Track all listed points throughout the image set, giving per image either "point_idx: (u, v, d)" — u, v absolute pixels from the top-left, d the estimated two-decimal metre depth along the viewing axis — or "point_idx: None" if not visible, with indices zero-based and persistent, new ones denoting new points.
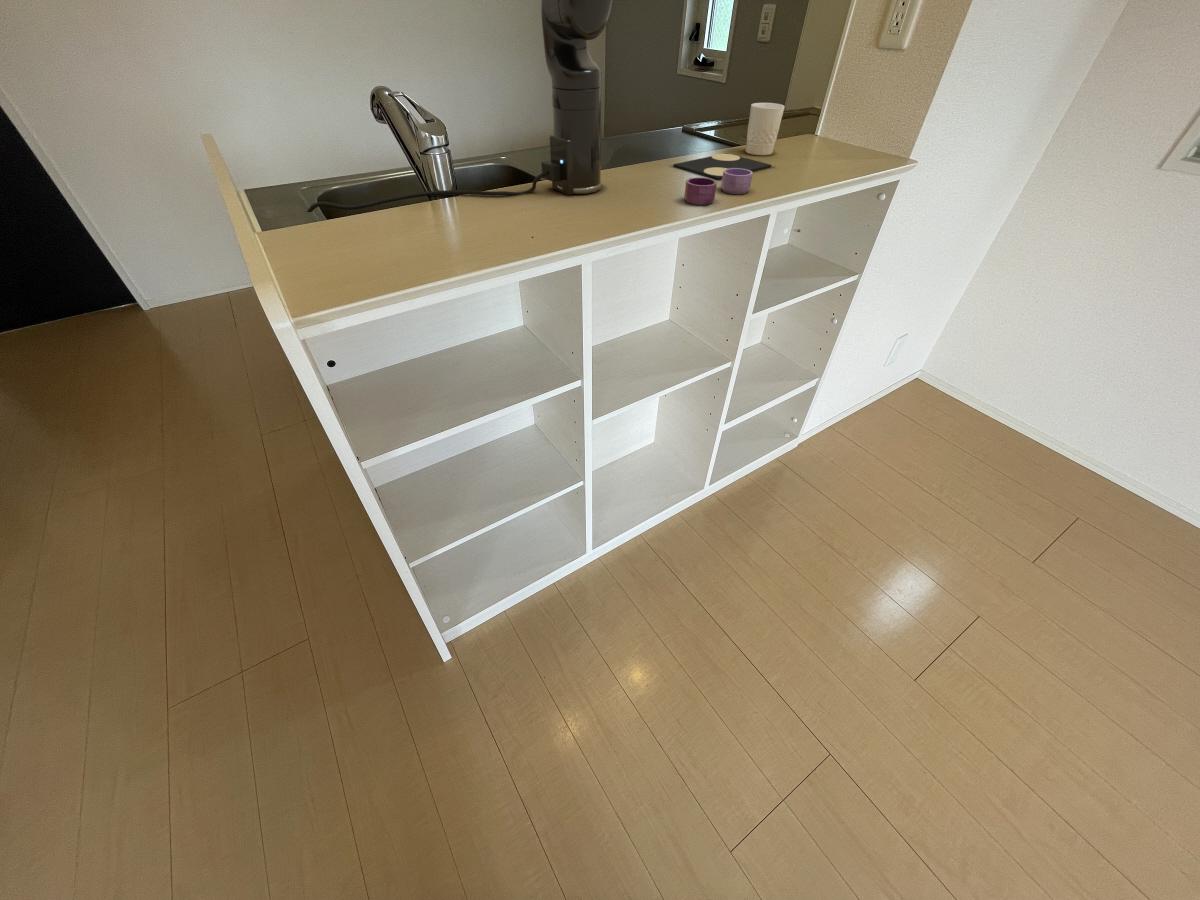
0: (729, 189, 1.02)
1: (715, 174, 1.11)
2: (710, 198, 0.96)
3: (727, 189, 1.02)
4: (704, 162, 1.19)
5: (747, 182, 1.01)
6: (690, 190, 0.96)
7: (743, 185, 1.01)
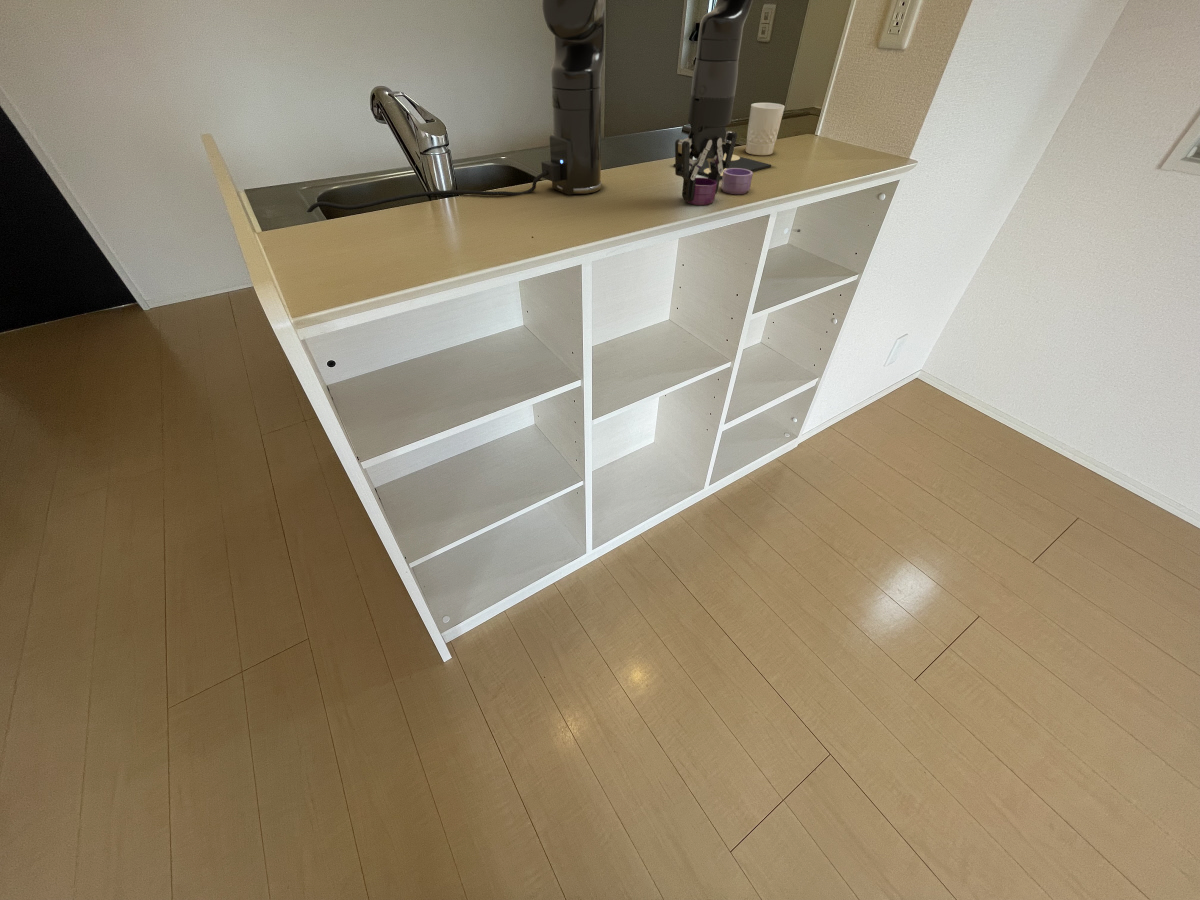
0: (729, 189, 1.02)
1: None
2: (710, 198, 0.96)
3: (727, 189, 1.02)
4: (704, 162, 1.19)
5: (747, 182, 1.01)
6: None
7: (743, 185, 1.01)
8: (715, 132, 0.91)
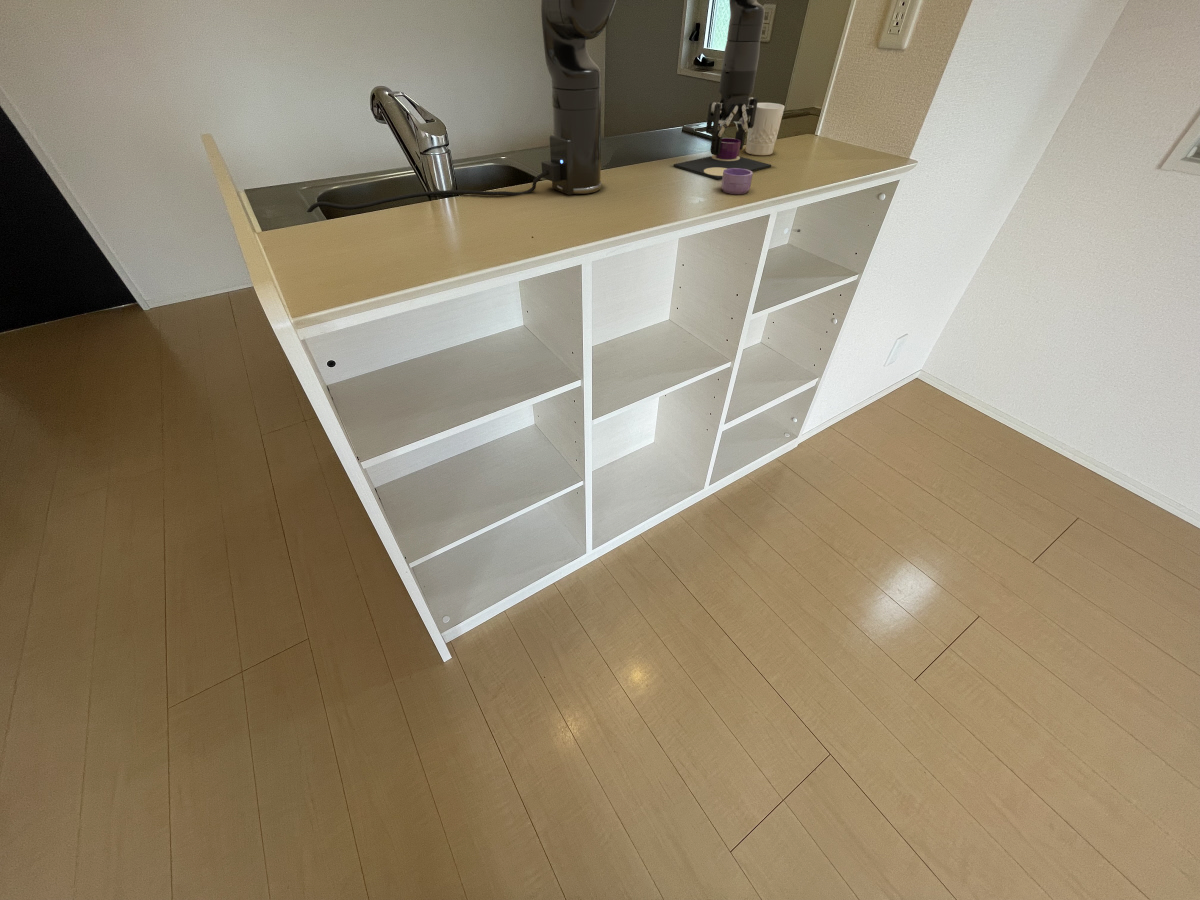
0: (729, 189, 1.02)
1: (715, 174, 1.11)
2: (735, 153, 1.20)
3: (727, 189, 1.02)
4: (704, 162, 1.19)
5: (747, 182, 1.01)
6: None
7: (743, 185, 1.01)
8: (740, 100, 1.14)
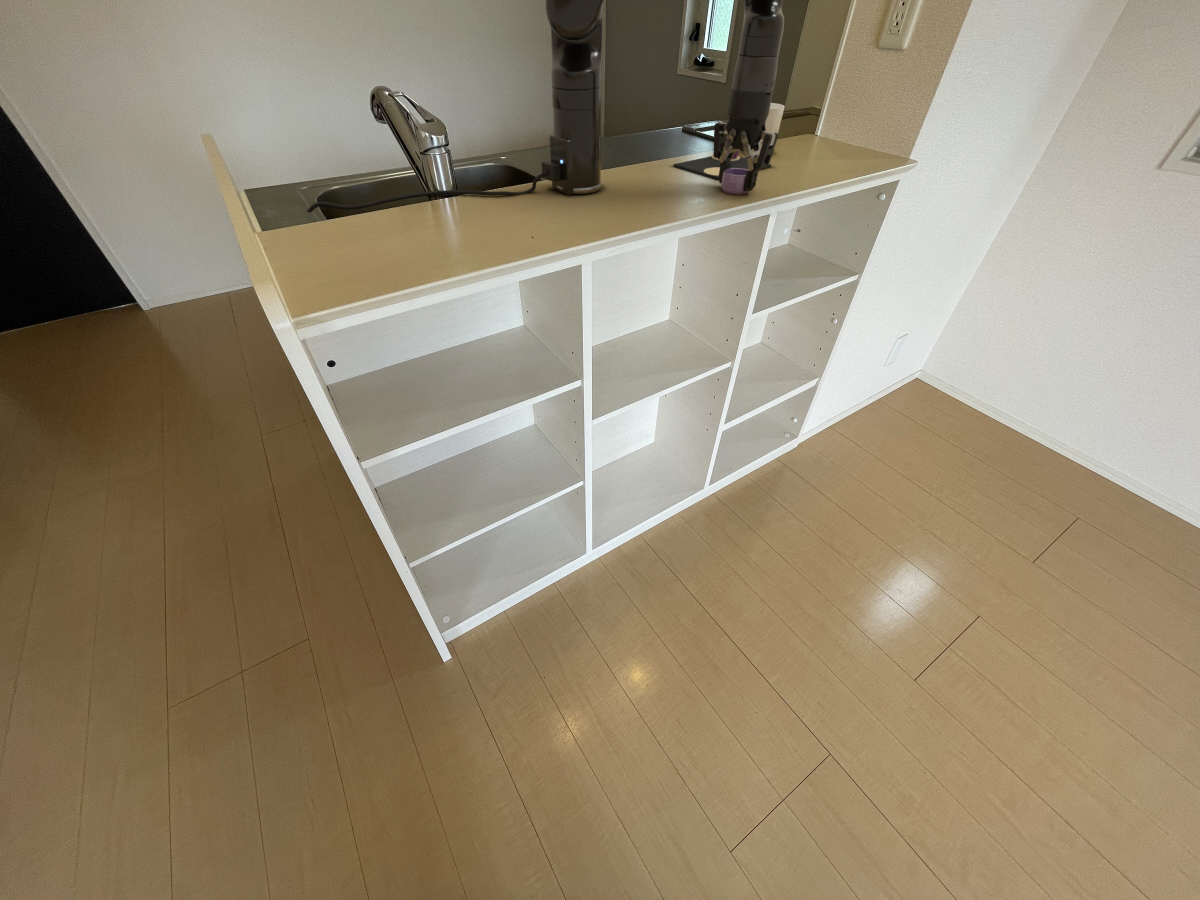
0: (729, 189, 1.02)
1: (715, 174, 1.11)
2: (735, 153, 1.20)
3: (727, 189, 1.02)
4: (704, 162, 1.19)
5: None
6: None
7: (743, 185, 1.01)
8: None
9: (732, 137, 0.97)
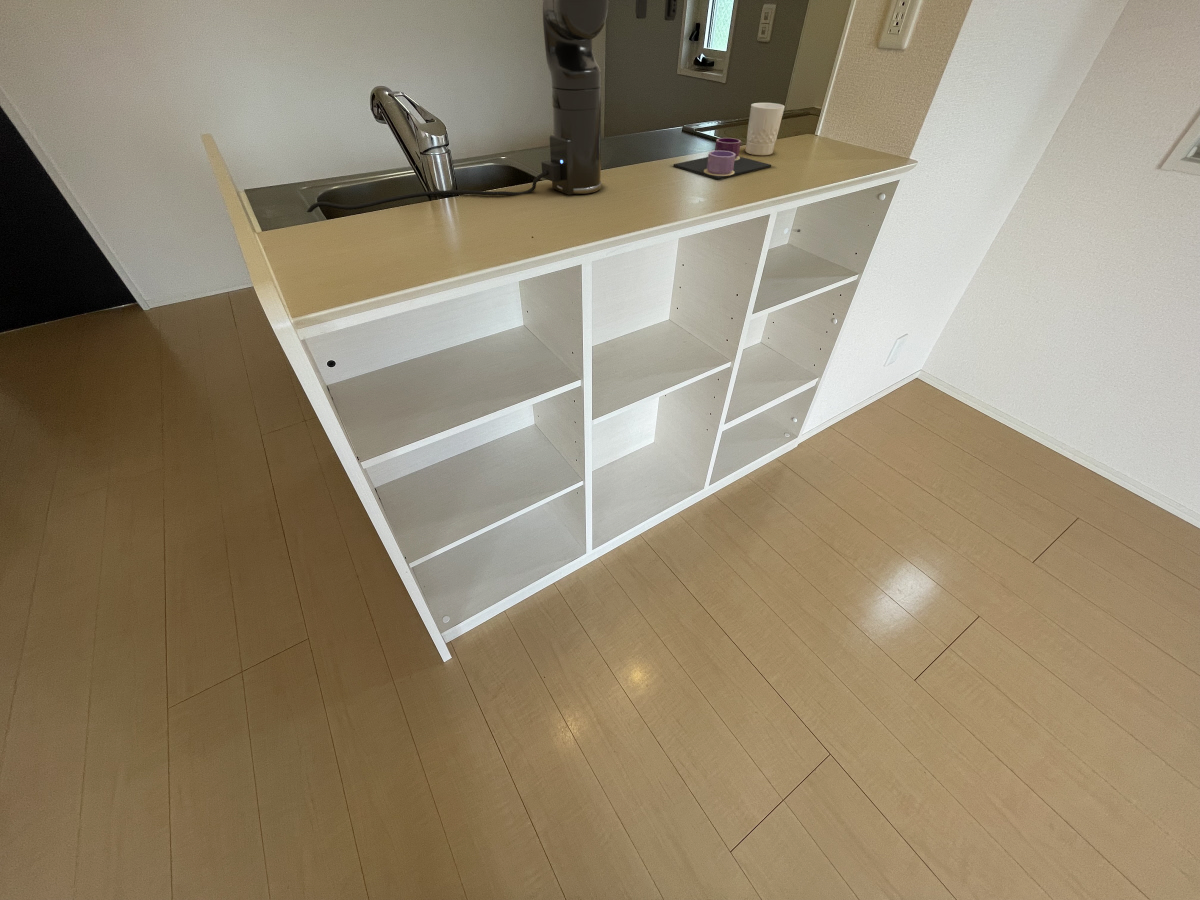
0: (714, 169, 1.10)
1: (715, 174, 1.11)
2: (735, 153, 1.20)
3: (712, 169, 1.10)
4: (704, 162, 1.19)
5: (730, 163, 1.09)
6: (720, 147, 1.19)
7: (726, 166, 1.09)
8: None
9: None
